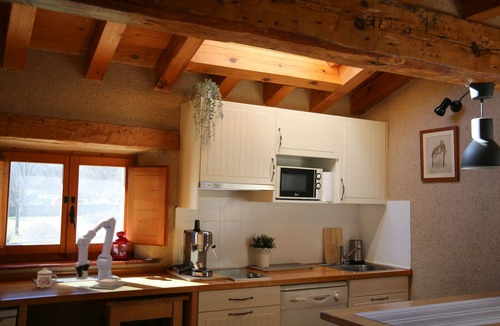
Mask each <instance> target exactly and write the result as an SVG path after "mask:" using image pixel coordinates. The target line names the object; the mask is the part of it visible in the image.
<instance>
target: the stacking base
mask: <svg viewBox="0 0 500 326" xmlns="http://www.w3.org/2000/svg"><path fill="white" fill-rule="evenodd" d="M126 285H127V283H126V282H119V279H114V278H111V279H104V280H101V281H98V283H97V284H93V285H91V286H89V289H93V290H96V289H97V290H108V291H109V290H110V291H113V290H116V289H118V288H121V287H124V286H126Z"/></svg>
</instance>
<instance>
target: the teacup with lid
mask: <svg viewBox="0 0 500 326" xmlns="http://www.w3.org/2000/svg"><path fill="white" fill-rule="evenodd" d="M36 274H37V276H36V277H37V280H36V287H37V288H39V287H40V288H41V289H45V287H46V288H51V287H52V283H55V282H56V281H57V280H58V276H57V275H56V274H53V271H51V270H49V269H47V267H43V269H41V270H40V271H37V273H36ZM53 277H55V280H53V281H52V279H53Z"/></svg>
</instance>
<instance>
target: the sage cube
mask: <svg viewBox="0 0 500 326" xmlns="http://www.w3.org/2000/svg"><path fill="white" fill-rule="evenodd" d="M88 271H89V270H88ZM88 271H83V272H82V277H78V273H77V272H76V280H88V277H89V276H88V275H89V272H88Z"/></svg>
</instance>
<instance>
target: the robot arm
mask: <svg viewBox="0 0 500 326" xmlns="http://www.w3.org/2000/svg"><path fill="white" fill-rule="evenodd" d="M116 225H117V220H116V219H115V217H113V216H112V217H108V216H101V217H100V218H99V219H98V222H97V223H96V225H95V226H94V227H93V228H92V229H88V230H87V232H86V233H85V234H83V236H80V237H79V238H78V239H77V241H76V243H77V248H78V258H77V259H78V261H77V262H76V263H75V267H74V269H75V270H76V274H77V273H78V277H82V272H83V271H89V269H90V266H91V264H90V262H91V260H88V256H89V255H88V254H89V253H88V252H89V246H90V244H91V242H92V240H93V239H94V238H95V237H96V236H97V233H98V232H99V231H101V229H102V228H103V229H104V230H105V231H106V233H105V236H104V242H103V247H102V250H101V253H100V254H99V255H98V256H97V259H96V261H95V263H96V266H97V268H98V275H97V276H98V277H97V279H96V280H95V282H99V281H101V280H104V279H112V269H111V268H112V266H113V257H112V255H111V252H112V251H111V249H112V245H113V241H114V236H115V235H114V234H115V232H116V231H115V230H116V229H115V228H116Z"/></svg>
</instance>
